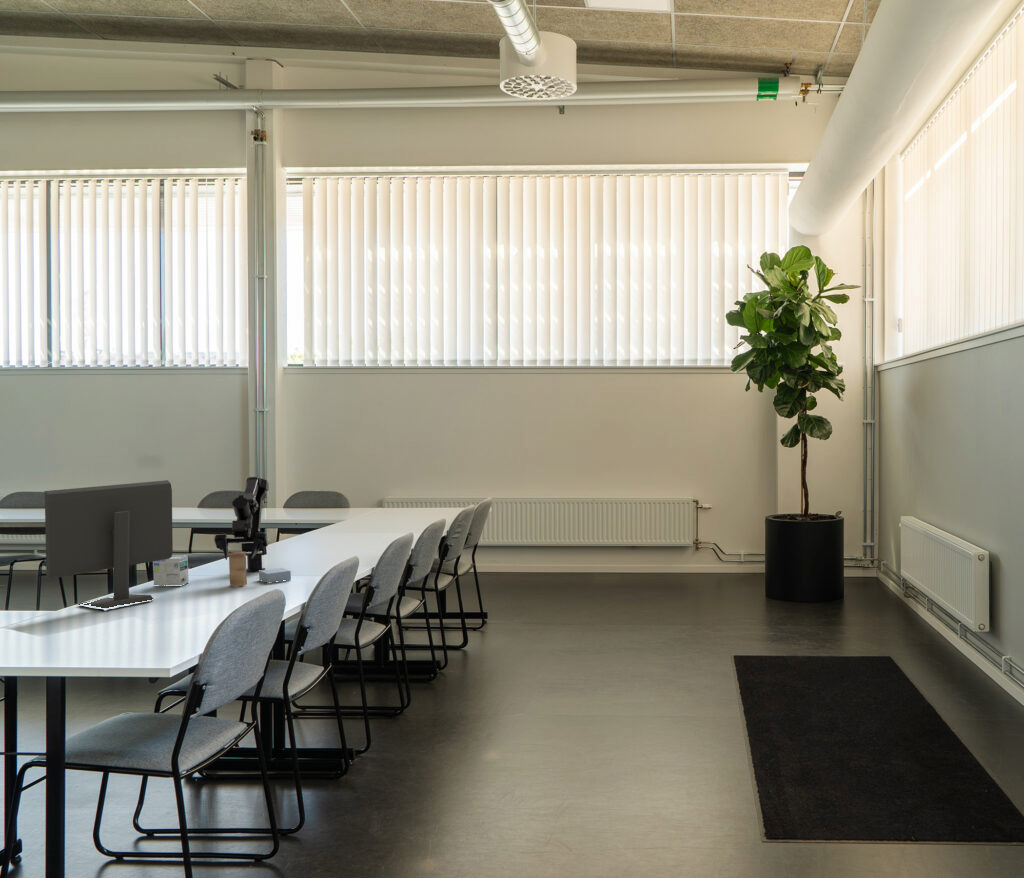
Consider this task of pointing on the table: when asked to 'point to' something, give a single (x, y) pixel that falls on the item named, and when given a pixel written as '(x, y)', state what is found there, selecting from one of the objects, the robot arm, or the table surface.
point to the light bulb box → (171, 571)
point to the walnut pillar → (237, 569)
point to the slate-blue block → (274, 575)
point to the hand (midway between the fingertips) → (238, 558)
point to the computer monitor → (108, 532)
